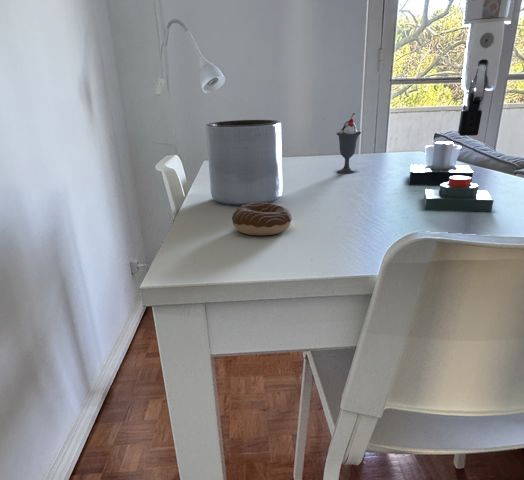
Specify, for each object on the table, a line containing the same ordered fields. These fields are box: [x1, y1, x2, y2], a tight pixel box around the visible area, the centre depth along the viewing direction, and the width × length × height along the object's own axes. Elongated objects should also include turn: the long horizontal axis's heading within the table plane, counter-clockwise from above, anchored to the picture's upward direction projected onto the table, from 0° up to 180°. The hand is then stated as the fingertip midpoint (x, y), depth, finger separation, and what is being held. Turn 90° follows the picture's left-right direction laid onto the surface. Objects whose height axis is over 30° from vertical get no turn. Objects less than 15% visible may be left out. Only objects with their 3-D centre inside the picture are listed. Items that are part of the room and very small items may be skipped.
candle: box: [425, 144, 462, 166], centre depth 126 cm, size 9×9×6 cm
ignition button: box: [448, 176, 472, 187], centre depth 92 cm, size 4×4×2 cm
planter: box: [205, 119, 284, 206], centre depth 102 cm, size 16×16×16 cm
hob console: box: [408, 164, 474, 186], centre depth 116 cm, size 14×10×3 cm
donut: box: [231, 202, 293, 237], centre depth 82 cm, size 11×11×4 cm
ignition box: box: [423, 182, 494, 213], centre depth 93 cm, size 12×9×4 cm
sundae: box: [335, 112, 362, 174], centre depth 129 cm, size 7×7×15 cm
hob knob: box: [431, 140, 454, 170], centre depth 113 cm, size 4×4×6 cm
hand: (467, 133), depth 88 cm, fingers closed
